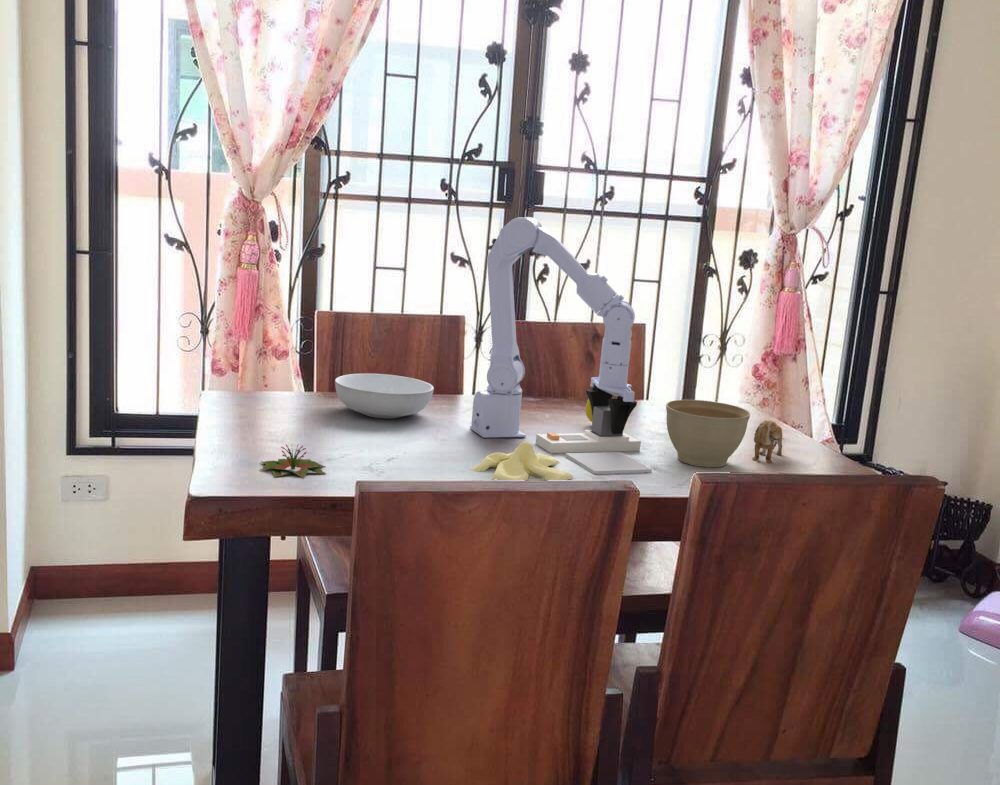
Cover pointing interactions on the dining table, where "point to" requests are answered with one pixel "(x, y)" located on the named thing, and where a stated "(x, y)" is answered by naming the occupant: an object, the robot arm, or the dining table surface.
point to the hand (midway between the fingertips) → (607, 429)
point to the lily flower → (293, 464)
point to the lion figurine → (767, 440)
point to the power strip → (586, 442)
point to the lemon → (589, 410)
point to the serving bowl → (383, 394)
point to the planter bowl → (705, 430)
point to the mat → (608, 463)
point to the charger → (602, 422)
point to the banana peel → (522, 465)
